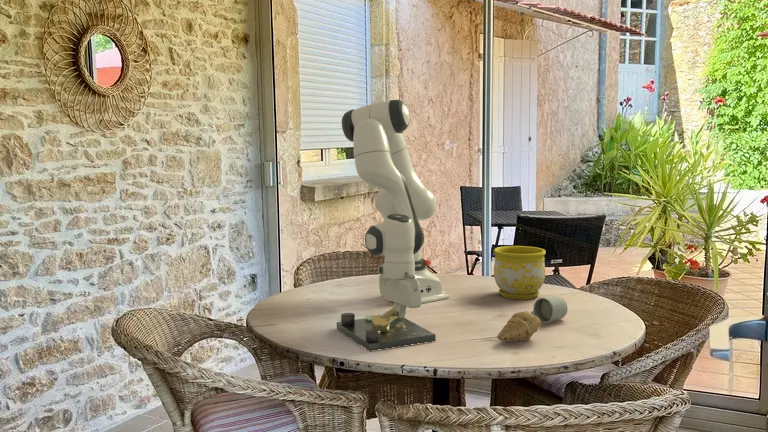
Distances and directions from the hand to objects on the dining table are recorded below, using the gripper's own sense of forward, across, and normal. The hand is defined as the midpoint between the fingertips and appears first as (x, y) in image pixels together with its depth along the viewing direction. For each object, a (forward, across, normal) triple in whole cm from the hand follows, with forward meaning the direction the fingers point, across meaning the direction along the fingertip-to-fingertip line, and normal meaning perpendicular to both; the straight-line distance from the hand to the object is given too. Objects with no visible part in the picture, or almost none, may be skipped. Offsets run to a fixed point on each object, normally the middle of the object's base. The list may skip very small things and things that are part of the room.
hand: (400, 317), depth 199 cm
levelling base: (+4, -2, +6) cm, 8 cm away
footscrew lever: (+2, +1, +3) cm, 3 cm away
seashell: (+5, -24, -24) cm, 34 cm away
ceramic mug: (+4, -10, -46) cm, 47 cm away
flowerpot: (+4, +20, -57) cm, 61 cm away
